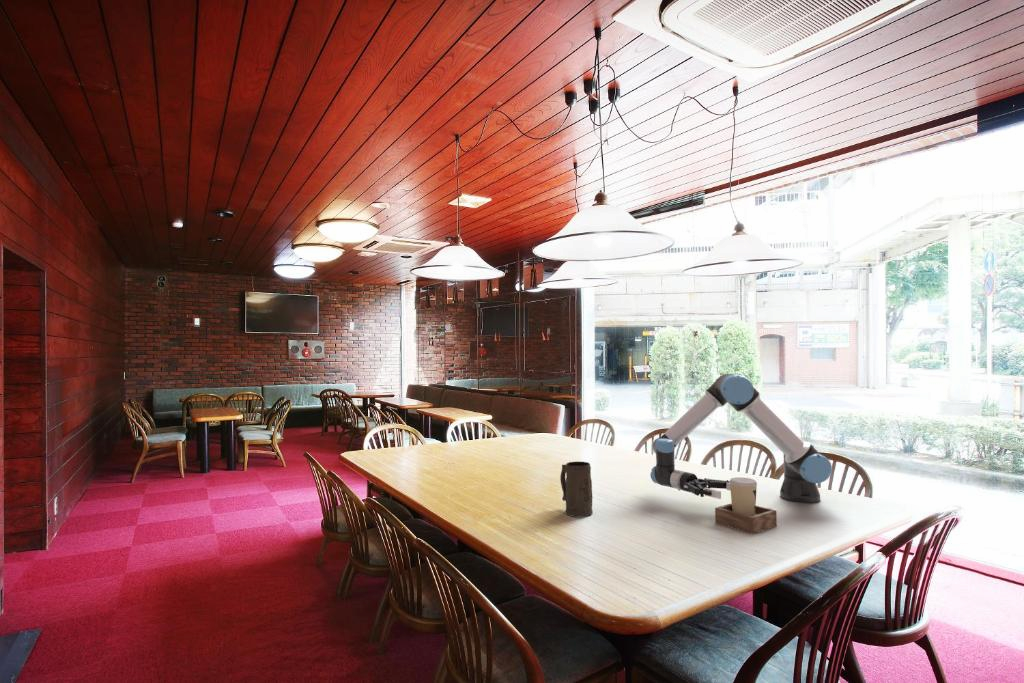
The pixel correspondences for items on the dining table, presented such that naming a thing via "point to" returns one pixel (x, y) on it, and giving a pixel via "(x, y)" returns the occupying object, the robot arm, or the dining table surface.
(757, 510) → the wooden tray
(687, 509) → the dining table surface
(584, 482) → the beer stein
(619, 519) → the dining table surface
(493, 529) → the dining table surface
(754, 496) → the coffee cup
